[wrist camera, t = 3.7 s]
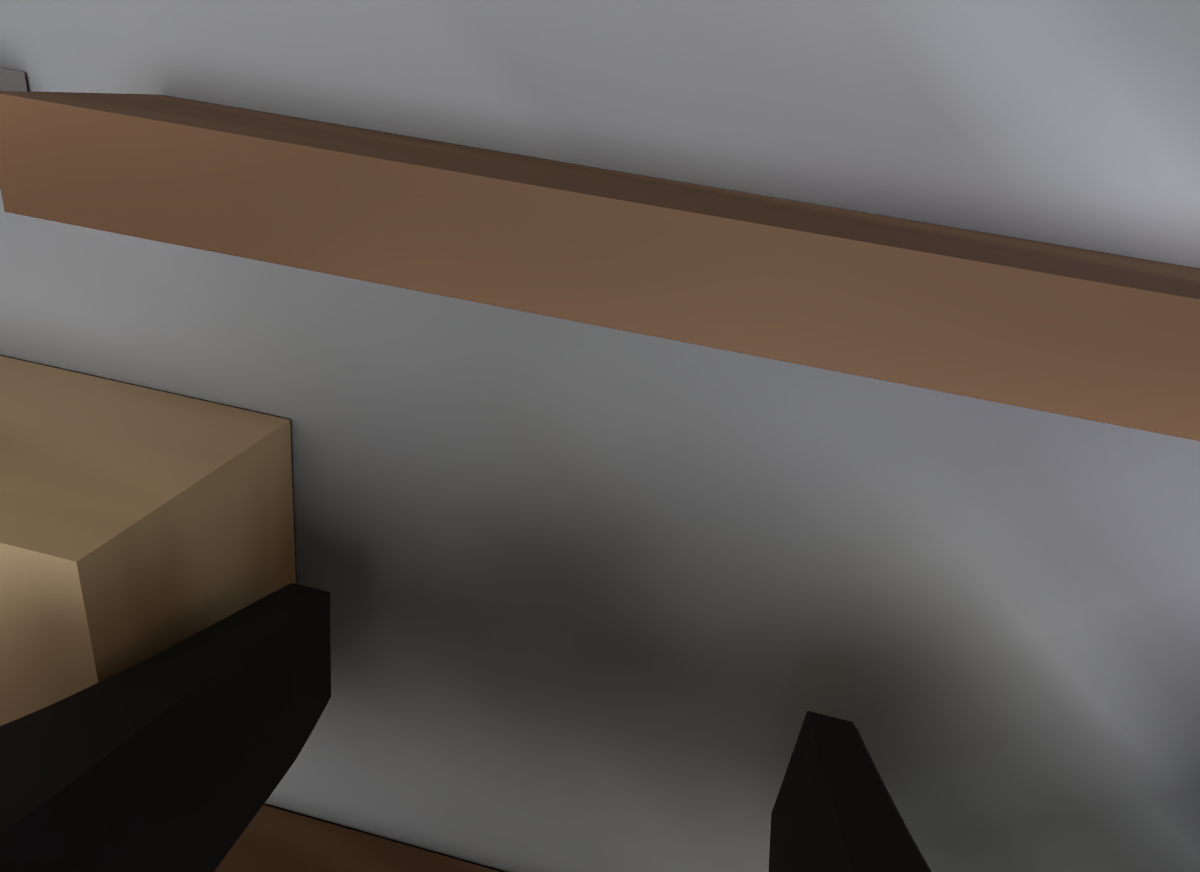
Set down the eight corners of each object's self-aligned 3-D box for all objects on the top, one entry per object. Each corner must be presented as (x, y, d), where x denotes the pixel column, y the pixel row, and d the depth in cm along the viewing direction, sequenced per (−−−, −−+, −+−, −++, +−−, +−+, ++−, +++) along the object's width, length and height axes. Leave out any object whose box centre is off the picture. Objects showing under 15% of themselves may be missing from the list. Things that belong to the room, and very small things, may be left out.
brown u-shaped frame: (1401, 1171, 13) (1532, 1389, 11) (232, 833, 16) (146, 953, 14) (2272, 448, 7) (2953, 600, 5) (159, 94, 10) (-18, 90, 8)
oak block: (300, 690, 14) (137, 896, 10) (11, 614, 14) (-236, 781, 11) (290, 420, 11) (76, 561, 8) (-53, 344, 12) (-393, 443, 9)
